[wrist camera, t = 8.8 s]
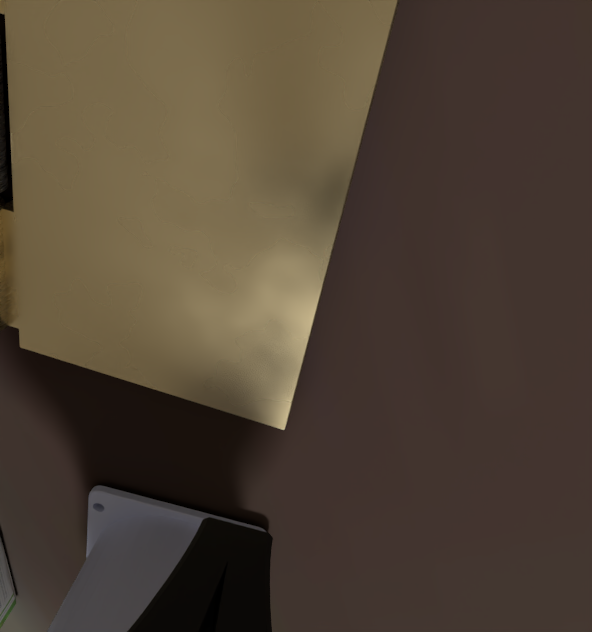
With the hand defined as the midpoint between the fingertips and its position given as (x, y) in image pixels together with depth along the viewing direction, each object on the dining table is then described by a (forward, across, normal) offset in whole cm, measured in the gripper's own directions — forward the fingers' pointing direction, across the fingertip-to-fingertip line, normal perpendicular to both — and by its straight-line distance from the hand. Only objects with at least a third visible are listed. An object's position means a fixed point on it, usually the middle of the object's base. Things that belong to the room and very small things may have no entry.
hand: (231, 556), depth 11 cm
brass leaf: (+9, +6, -5) cm, 12 cm away
